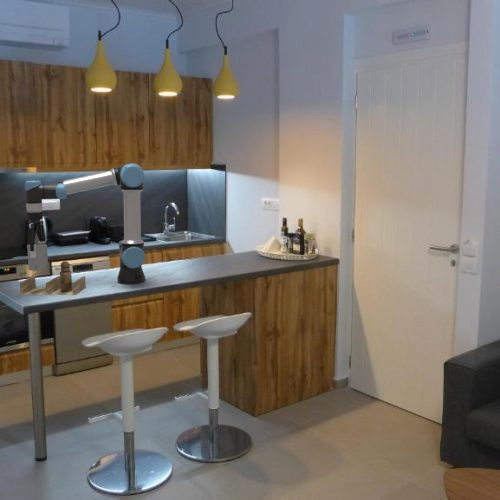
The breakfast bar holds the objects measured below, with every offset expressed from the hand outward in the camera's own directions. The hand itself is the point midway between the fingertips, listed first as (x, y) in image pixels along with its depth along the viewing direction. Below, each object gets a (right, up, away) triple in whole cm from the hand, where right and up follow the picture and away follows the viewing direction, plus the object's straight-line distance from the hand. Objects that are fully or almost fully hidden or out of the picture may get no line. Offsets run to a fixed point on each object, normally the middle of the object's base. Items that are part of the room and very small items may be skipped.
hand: (37, 255), depth 313 cm
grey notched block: (0, -7, +1) cm, 7 cm away
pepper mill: (+14, -18, +3) cm, 23 cm away
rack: (+7, -19, +4) cm, 21 cm away
